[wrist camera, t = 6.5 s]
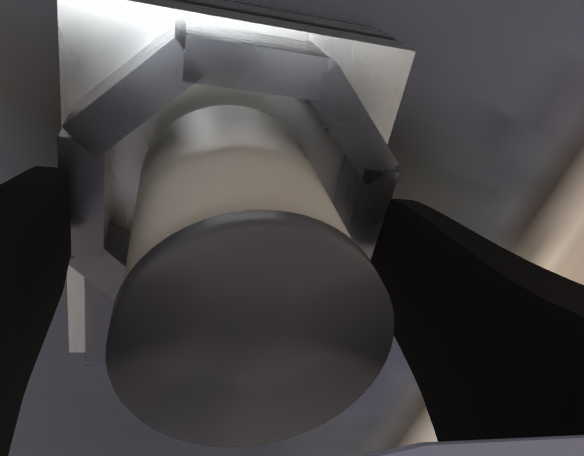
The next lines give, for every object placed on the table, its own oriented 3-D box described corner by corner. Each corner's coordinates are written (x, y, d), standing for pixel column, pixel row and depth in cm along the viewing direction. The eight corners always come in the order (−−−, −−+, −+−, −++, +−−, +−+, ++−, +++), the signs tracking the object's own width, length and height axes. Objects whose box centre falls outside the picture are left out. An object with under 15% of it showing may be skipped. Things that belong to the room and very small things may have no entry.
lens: (301, 260, 15) (364, 436, 10) (138, 261, 14) (113, 457, 9) (326, 106, 12) (425, 232, 7) (132, 94, 11) (95, 228, 6)
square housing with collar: (305, 297, 20) (335, 388, 16) (84, 289, 18) (59, 392, 14) (375, 27, 15) (442, 67, 11) (81, -27, 13) (39, -2, 9)
